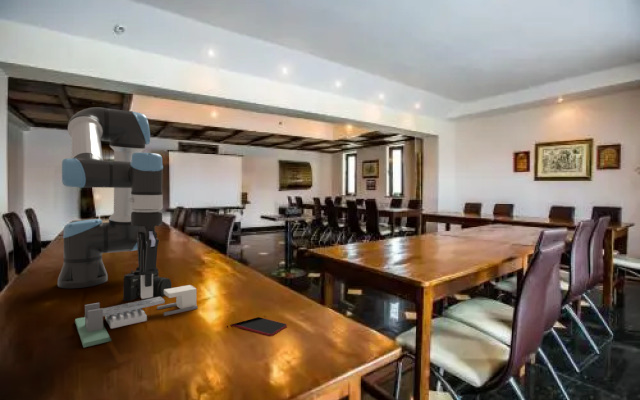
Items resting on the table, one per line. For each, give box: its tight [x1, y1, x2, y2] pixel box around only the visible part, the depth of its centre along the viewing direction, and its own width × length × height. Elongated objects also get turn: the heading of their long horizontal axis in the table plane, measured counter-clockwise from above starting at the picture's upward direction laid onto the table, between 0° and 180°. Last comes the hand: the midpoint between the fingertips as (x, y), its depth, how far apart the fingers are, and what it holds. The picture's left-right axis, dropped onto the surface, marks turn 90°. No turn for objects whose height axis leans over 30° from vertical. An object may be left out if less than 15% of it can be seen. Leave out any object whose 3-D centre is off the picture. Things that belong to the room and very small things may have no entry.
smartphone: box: [229, 316, 288, 337], centre depth 88 cm, size 7×1×15 cm
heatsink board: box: [74, 302, 198, 348], centre depth 90 cm, size 18×28×6 cm, turn 131°
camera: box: [122, 266, 172, 302], centre depth 108 cm, size 14×11×10 cm
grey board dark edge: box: [102, 296, 166, 318], centre depth 88 cm, size 17×4×1 cm, turn 131°
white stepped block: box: [164, 284, 197, 309], centre depth 96 cm, size 5×8×6 cm, turn 131°
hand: (146, 297), depth 91 cm, fingers closed
